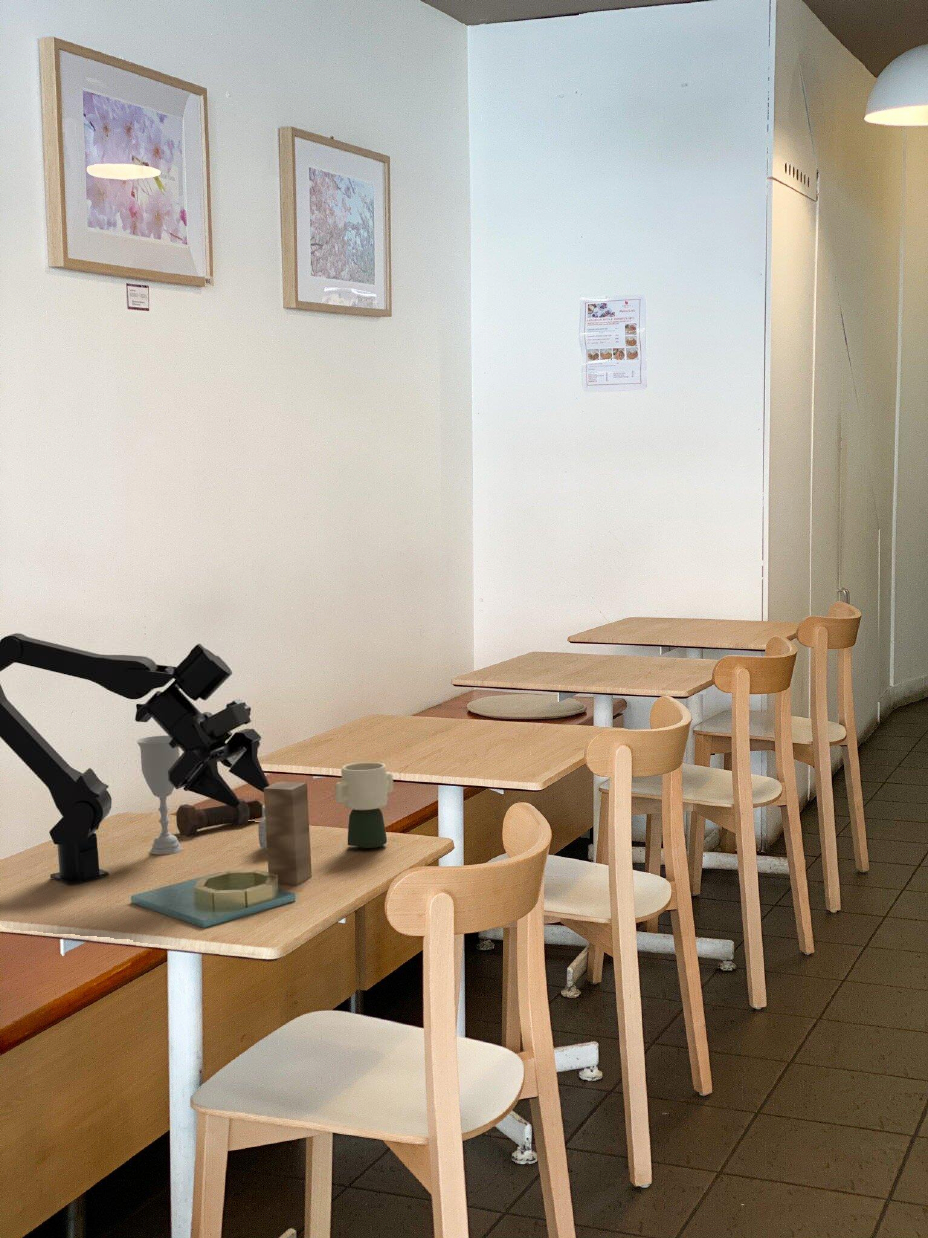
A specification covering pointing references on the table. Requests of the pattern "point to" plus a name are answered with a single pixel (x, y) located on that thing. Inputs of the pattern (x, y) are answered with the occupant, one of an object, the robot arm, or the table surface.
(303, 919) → the table surface
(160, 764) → the chalice
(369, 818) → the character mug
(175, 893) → the socket plate
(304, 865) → the peg
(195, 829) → the bolt
